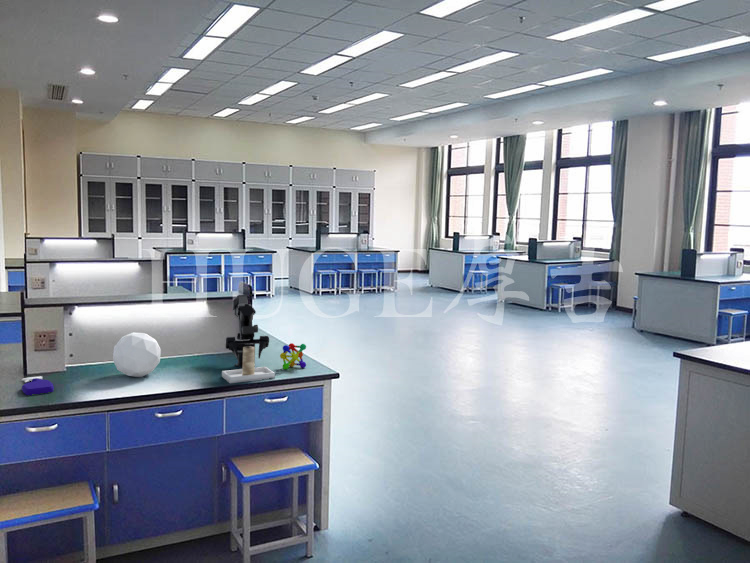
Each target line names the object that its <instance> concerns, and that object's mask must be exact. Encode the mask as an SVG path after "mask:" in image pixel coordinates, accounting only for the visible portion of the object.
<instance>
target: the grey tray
mask: <svg viewBox="0 0 750 563" xmlns="http://www.w3.org/2000/svg"><path fill="white" fill-rule="evenodd" d="M275 376H276V373H275V372H274V371H273V370H271V369H270V368H268V367H267V366H259V367H258V366H257V367H255V370H254V375H245V376H242V368H239V369H231V370H229V369H228V370H222V371H221V377H222V378H223V379H224V380H226V382H227V383H229V384H237V383H244V382H246V383H247V382H253V381H254V382H255V381H261V380H262V379H264V380H270V379H269V378H273V379H275V378H276V377H275Z"/></svg>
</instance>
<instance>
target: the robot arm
mask: <svg viewBox="0 0 750 563" xmlns="http://www.w3.org/2000/svg"><path fill="white" fill-rule="evenodd" d="M248 299H249V296H248V294H247V295H246V294H238V295H236V297H235V298H234V299H233V300H232V311H233V314H234V316H235V317H236V318H237V322H238V323H237V325H238V333H237V336H236V337H235V336H227V337H226V338H225V349H226V350H229V351H231V352H232V354H233V355H234V356H235V358H236V360H237V363H234V366H236V367H240V368H242V367H243V347H246V346H252V347H255V348H256V345H259V347H258V354H257V356H258V359H260V358H261V356H262V352H263V350H264V349H266V348H268V347H269V345H270V344H269V343H270V337H269V336H268V335H260V336H259V338H256V339H254V338H255V333H258V332H259V325H258V324H253V321H254V316H255V314H257V312H256V310H255V308H254V307H253V306H252V304H251V303H250V304H248Z"/></svg>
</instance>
